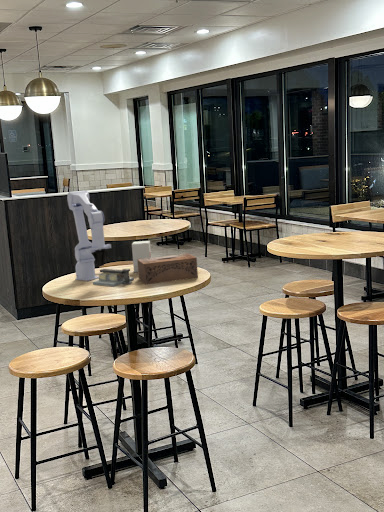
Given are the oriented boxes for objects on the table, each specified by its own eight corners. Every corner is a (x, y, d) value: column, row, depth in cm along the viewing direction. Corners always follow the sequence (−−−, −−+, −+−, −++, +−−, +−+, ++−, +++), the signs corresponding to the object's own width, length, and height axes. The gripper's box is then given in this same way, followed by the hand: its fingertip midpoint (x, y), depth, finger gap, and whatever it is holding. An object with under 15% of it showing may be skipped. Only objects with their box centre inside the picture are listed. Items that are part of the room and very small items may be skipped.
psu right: (109, 281, 304) (108, 274, 304) (118, 278, 309) (117, 272, 309) (117, 281, 301) (116, 275, 301) (125, 279, 306) (125, 272, 306)
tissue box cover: (189, 273, 318) (188, 253, 316) (198, 278, 304) (196, 257, 303) (139, 279, 311) (137, 259, 310) (145, 284, 297) (143, 263, 296)
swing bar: (99, 272, 309) (99, 268, 309) (104, 271, 312) (104, 266, 312) (126, 274, 299) (126, 270, 299) (131, 273, 302) (131, 268, 301)
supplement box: (151, 271, 328) (148, 242, 325) (133, 272, 328) (131, 244, 326) (152, 268, 337) (150, 240, 334) (135, 269, 337) (133, 241, 335)
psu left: (98, 280, 309) (98, 273, 308) (107, 277, 313) (107, 271, 313) (106, 281, 306) (105, 274, 305) (115, 278, 311) (114, 271, 310)
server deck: (92, 284, 306) (91, 272, 305) (112, 278, 317) (111, 267, 316) (120, 287, 295) (119, 275, 294) (140, 280, 306) (139, 269, 305)
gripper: (93, 239, 290) (95, 269, 293) (114, 235, 302) (117, 263, 304) (82, 239, 294) (85, 268, 297) (104, 234, 306) (106, 262, 308)
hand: (100, 265), depth 301 cm, fingers closed
